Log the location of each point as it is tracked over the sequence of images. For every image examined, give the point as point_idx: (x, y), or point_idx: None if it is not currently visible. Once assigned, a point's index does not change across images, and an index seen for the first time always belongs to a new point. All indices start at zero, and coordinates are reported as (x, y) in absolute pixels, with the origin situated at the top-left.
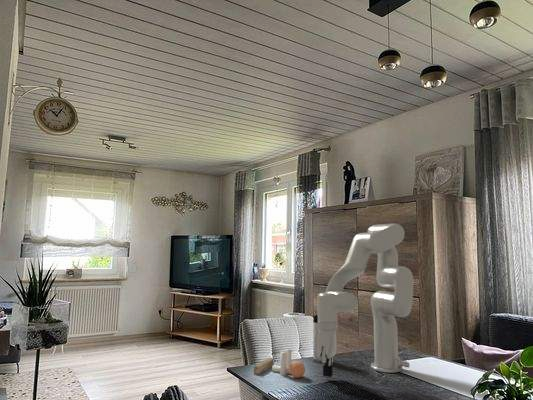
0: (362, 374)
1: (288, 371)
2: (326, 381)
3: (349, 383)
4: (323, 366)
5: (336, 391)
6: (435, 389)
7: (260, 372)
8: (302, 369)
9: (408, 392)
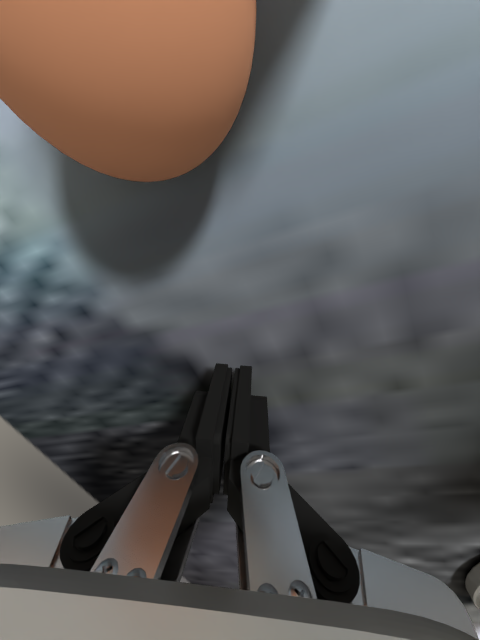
0: (419, 504)
1: None
2: (202, 367)
3: None
4: (199, 425)
5: (76, 435)
6: None
7: None
8: (68, 154)
9: None
